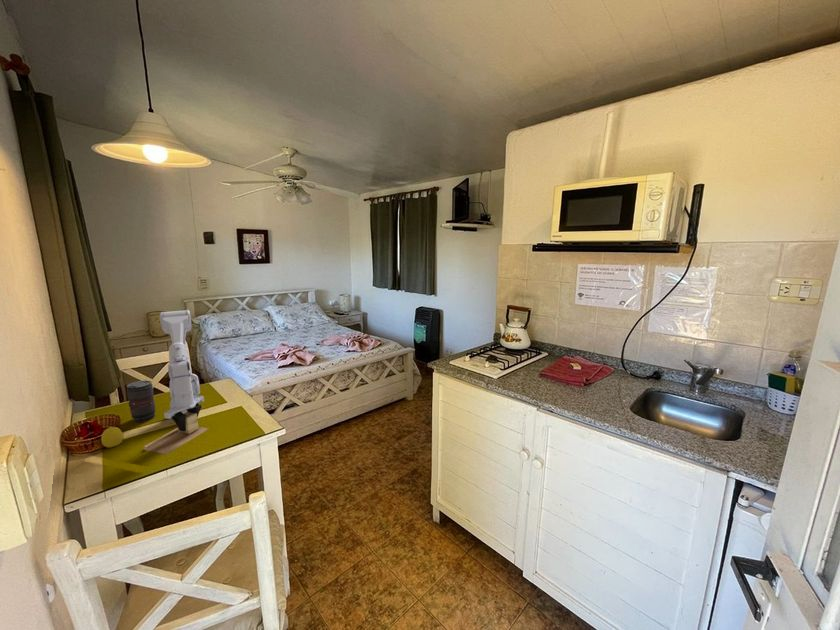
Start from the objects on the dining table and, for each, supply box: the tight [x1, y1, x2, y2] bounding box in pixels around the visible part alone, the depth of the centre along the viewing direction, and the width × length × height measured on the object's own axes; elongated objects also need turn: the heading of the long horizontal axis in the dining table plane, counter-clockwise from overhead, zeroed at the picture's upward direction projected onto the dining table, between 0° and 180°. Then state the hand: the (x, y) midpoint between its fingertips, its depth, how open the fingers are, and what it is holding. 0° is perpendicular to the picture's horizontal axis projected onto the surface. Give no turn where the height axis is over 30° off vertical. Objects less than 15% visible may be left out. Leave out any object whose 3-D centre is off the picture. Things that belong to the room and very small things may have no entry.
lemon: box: [101, 426, 124, 448], centre depth 119 cm, size 6×6×8 cm
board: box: [142, 426, 210, 455], centre depth 123 cm, size 10×17×3 cm, turn 166°
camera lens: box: [126, 380, 156, 423], centre depth 139 cm, size 8×8×15 cm
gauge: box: [177, 412, 200, 434], centre depth 128 cm, size 5×4×7 cm
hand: (188, 427), depth 128 cm, fingers closed on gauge, 4 cm apart
